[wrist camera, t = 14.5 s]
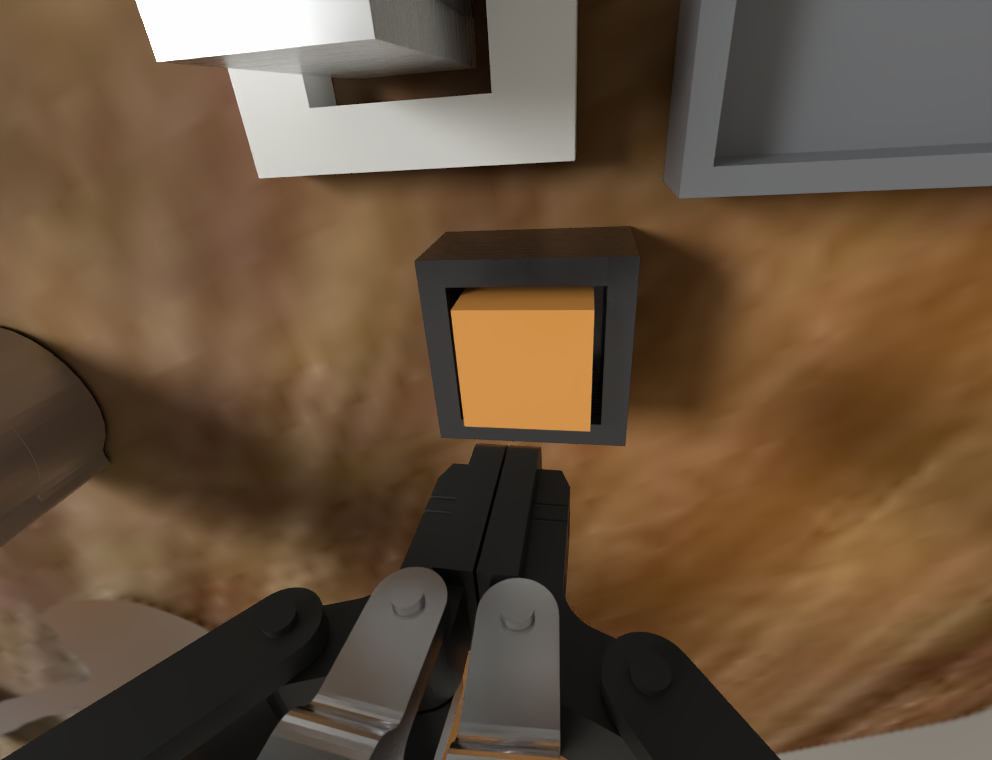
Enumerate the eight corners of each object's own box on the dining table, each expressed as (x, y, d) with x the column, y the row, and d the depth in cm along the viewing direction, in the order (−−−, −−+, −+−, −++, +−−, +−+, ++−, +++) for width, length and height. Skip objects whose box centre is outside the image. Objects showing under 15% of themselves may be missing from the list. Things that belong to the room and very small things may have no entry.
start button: (589, 394, 19) (589, 431, 16) (477, 391, 19) (464, 426, 17) (593, 283, 16) (594, 310, 14) (467, 285, 17) (450, 310, 15)
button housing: (619, 390, 21) (625, 446, 18) (463, 386, 22) (441, 437, 19) (630, 226, 18) (640, 256, 14) (445, 232, 19) (414, 261, 16)
